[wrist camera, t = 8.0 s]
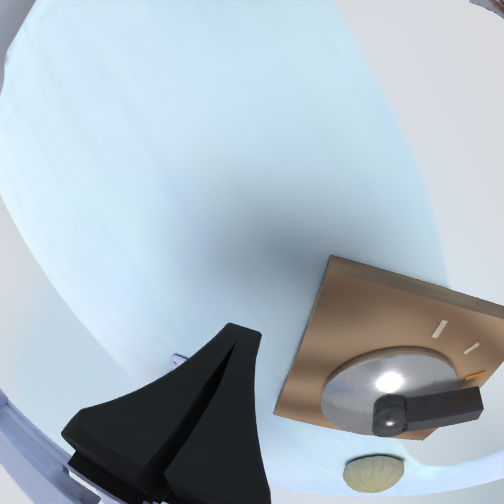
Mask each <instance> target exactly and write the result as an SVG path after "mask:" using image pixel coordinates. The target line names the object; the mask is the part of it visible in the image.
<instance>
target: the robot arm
mask: <svg viewBox="0 0 504 504" xmlns="http://www.w3.org/2000/svg"><path fill="white" fill-rule="evenodd" d="M261 336H262V334H261V333H260V332H258V331H255V330H252V329H249V328H245V327H242V326H239V325H236V324H233V323H228V324H226V326H225V327H224V328H223V329H222V330H221V331H220V332H219V333H218V334H217V335H216V336H215V337H214V338H213V339H212V340H210V341H209V342H208V343H207V344H206V345H205V346H204V347H202V348H201V349H200V350H199V351H198V352H196V353H195V354H194V355H193V356H192V357H190V358H189V359H188V360H187V359H184V358H182V357H179V356H177V355H173V356H172V357H171V363H172V371H171V372H169V373H167V374H166V375H164V376H163V377H161V378H159V379H157V380H156V381H154V382H152V383H150V384H148V385H146V386H144V387H142V388H140V389H138V390H136V391H134V392H132V393H129V394H127V395H124V396H122V397H119V398H117V399H114V400H111V401H109V402H105V403H102V404H98V405H95V406H92V407H88V408H84V409H81V410H80V411H79V412H78V413H77V414H76V415H75V416H74V417H73V418H72V419H71V420H70V421H69V423H68V424H67V425H66V427H65V428H64V430H63V431H62V432H61V435H62V437H63V438H64V439H65V440H66V441H67V442H68V443H69V444H70V445H71V446H72V447H73V448H74V449H75V450H76V452H75V453H74V454H73V456H71V455H70V454H69V453H67V452H66V451H65V450H64V449H62V448H61V447H60V446H58V445H57V444H56V443H55V442H53V441H52V440H51V439H50V438H49V437H48V436H46V435H45V434H44V433H43V432H42V431H41V430H39V429H38V428H37V427H36V426H35V425H34V424H33V423H32V422H31V421H30V420H29V419H27V418H26V417H25V416H24V415H23V414H22V413H21V412H20V411H19V410H18V409H17V408H16V407H15V406H14V405H13V404H12V403H11V401H10V400H9V399H8V397H7V396H6V395H5V394H4V393H3V391H2V390H1V389H0V464H1V465H2V466H3V468H4V469H5V471H6V472H7V473H8V474H9V476H10V477H11V478H12V479H13V480H14V482H15V483H16V484H17V485H18V486H19V488H20V489H21V490H22V491H23V492H24V493H25V494H26V495H27V497H28V498H29V499H30V500H31V501H32V502H33V503H34V504H98V503H99V502H100V500H102V501H103V503H104V504H271V497H270V496H271V495H270V494H271V493H270V489H269V485H268V482H267V478H266V474H265V470H264V466H263V461H262V457H261V451H260V445H259V439H258V433H257V425H256V414H255V395H254V380H255V363H256V357H257V353H258V349H259V345H260V340H261ZM68 469H69V470H70V471H71V472H73V473H74V474H75V475H77V476H78V477H80V478H81V479H82V480H84V481H85V482H87V483H88V484H90V485H91V486H93V487H94V488H95V489H96V490H97V492H98V494H99V496H100V497H99V496H98V495H96V494H95V493H93V492H92V491H91V490H89V489H87V488H86V487H85V486H83V485H81V484H80V483H79V482H77V481H76V480H74V479H73V478H71V477H70V475H69V471H68Z"/></svg>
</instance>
